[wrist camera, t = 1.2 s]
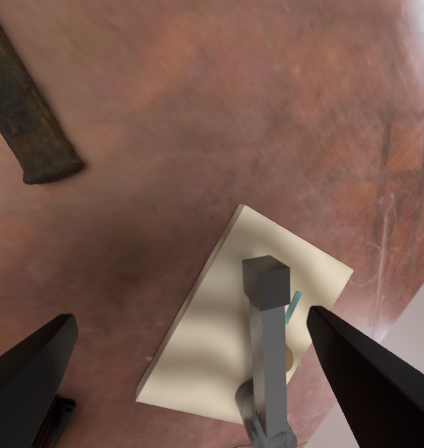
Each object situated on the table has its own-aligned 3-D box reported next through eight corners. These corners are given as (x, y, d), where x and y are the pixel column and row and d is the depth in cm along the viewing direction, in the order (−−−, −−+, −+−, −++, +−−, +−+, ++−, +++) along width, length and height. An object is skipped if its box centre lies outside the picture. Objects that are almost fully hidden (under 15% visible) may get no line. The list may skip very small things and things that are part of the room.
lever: (268, 403, 26) (299, 462, 21) (236, 414, 25) (259, 479, 20) (262, 244, 22) (298, 265, 17) (223, 251, 21) (248, 276, 16)
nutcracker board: (255, 415, 28) (273, 457, 24) (136, 387, 23) (133, 433, 19) (343, 265, 28) (378, 281, 23) (239, 203, 23) (259, 208, 18)
